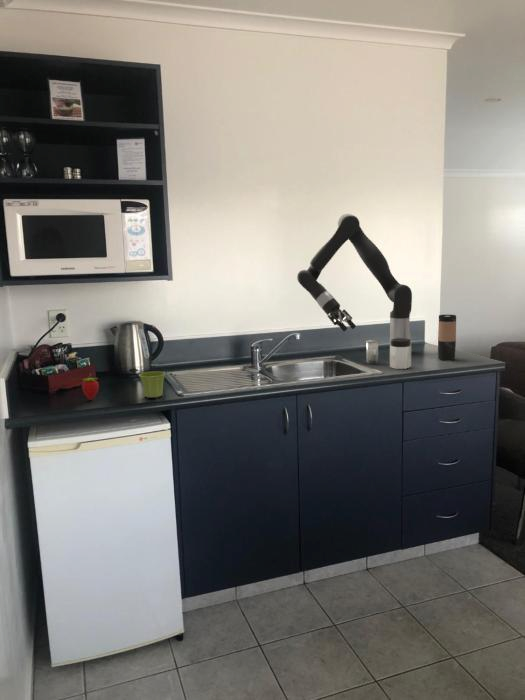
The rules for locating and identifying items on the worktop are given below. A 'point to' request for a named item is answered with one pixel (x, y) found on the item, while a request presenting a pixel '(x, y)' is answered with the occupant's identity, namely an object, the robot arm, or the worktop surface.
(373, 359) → the canister
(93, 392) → the strawberry
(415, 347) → the worktop surface
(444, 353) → the travel mug
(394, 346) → the jar
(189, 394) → the worktop surface
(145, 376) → the plant pot
